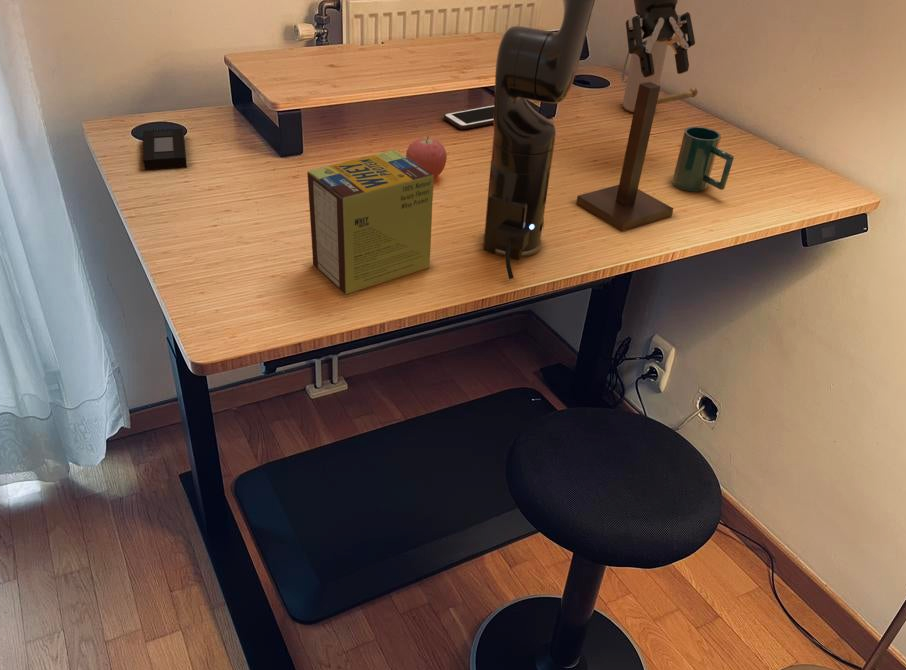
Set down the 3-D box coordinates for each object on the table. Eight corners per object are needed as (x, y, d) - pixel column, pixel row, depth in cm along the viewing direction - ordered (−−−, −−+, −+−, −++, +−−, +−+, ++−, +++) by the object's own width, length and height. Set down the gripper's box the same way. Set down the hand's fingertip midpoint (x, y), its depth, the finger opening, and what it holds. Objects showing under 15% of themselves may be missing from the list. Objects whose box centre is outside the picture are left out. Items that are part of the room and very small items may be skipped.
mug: (664, 181, 151) (677, 130, 145) (688, 174, 154) (701, 124, 147) (708, 204, 144) (723, 151, 138) (732, 197, 147) (748, 145, 140)
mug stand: (622, 231, 134) (649, 102, 120) (576, 203, 142) (597, 79, 128) (694, 209, 142) (728, 85, 128) (647, 183, 150) (674, 64, 136)
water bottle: (660, 109, 182) (686, -8, 166) (642, 117, 177) (667, -3, 161) (626, 99, 186) (649, -17, 171) (607, 106, 182) (629, -12, 166)
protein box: (431, 268, 122) (435, 173, 112) (345, 296, 115) (342, 198, 105) (394, 239, 129) (395, 148, 119) (310, 264, 121) (305, 169, 112)
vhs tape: (144, 170, 145) (142, 160, 144) (145, 140, 156) (143, 130, 154) (186, 167, 147) (185, 157, 145) (184, 138, 157) (182, 128, 156)
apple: (418, 166, 151) (419, 125, 146) (451, 176, 149) (454, 134, 144) (398, 180, 146) (398, 138, 141) (432, 190, 144) (434, 147, 139)
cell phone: (441, 118, 171) (442, 114, 171) (497, 108, 178) (497, 104, 177) (461, 130, 166) (461, 126, 166) (517, 119, 172) (517, 115, 172)
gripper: (637, -25, 137) (652, 71, 140) (696, -27, 143) (709, 65, 146) (609, -8, 143) (623, 83, 146) (666, -11, 150) (679, 77, 152)
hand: (666, 74), depth 146 cm, fingers open, 8 cm apart
